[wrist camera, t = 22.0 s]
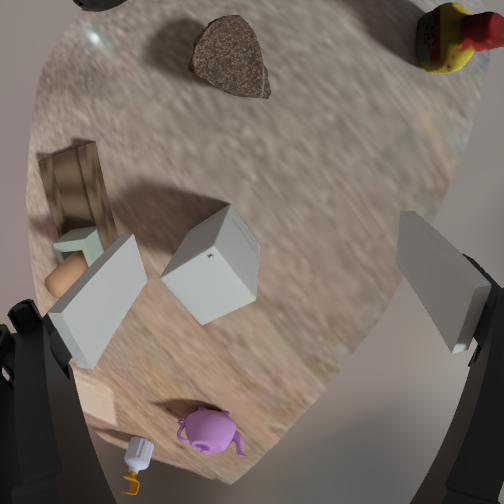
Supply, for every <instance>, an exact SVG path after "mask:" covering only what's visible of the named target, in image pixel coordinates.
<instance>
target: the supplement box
mask: <svg viewBox="0 0 504 504" xmlns="http://www.w3.org/2000/svg"><path fill="white" fill-rule="evenodd" d="M259 256H260V244H259V243H258V241H257V240H256V239H255V237H254V236H253V234H252V233H251V231H250V230H249V229H248V227H247V226H246V224H245V223H244V222H243V220H242V219H241V217H240V216H239V214H238V213H237V212H236V210H235V209H234V207H233V206H232V205H231V204H229V205H227V206H226V207H224V208H223V209H221V210H219V211H218V212H216V213H215V214H213V215H212V216H210V217H209V218H207V219H206V220H204V221H202V222H201V223H199V224H198V225H196V226H195V227H193V228H192V229H190V230H189V232H188V233H187V235H186V236H185V238H184V239H183V241H182V243H181V244H180V246H179V247H178V249H177V251H176V252H175V254H174V256H173V257H172V259H171V260H170V262H169V264H168V265H167V267H166V268H165V270H164V272H163V273H162V275H161V277H160V279H161V280H162V281H163V283H164V284H165V285H166V286H167V287H168V288H169V289H170V291H171V292H172V293H173V294H174V295H175V296H176V297H177V299H178V300H179V301H180V302H181V303H182V304H183V305H184V306H185V308H186V309H187V310H188V311H189V312H190V313H191V314H192V315H193V316H194V317H195V319H196V320H197V321H198V322H199V323H200V324H201V325H204V324H206V323H208V322H210V321H212V320H214V319H217V318H219V317H221V316H223V315H225V314H227V313H229V312H231V311H234V310H236V309H238V308H240V307H242V306H244V305H247V304H249V303H251V302H253V301H255V300H256V290H257V279H258V267H259Z"/></svg>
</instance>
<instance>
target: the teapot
mask: <svg viewBox="0 0 504 504" xmlns="http://www.w3.org/2000/svg"><path fill="white" fill-rule="evenodd" d="M198 409H199V410H197V411H195V412H193V413H191V414H189V415H188V416H187V417H186V419H185V418H179V419H178V424H180V425H181V427H180V428H179V430H178V432H177V437H178V439H179V440H180V441H182V442H186V443H188V442H190V444H191V445H192V447H193V448H195V449H196V450H198V451H200V452H201V453H203V454H207V455H209V454H211V453H219V452H222V451H223V450H224V449H225V448H226V447H227V446H228V445H229V444H230V443H231V442H232V441H234V442H235V443H236V451H237V454H238V455H239V456H241V457H243V458H247V459H248V457H246V456H245V455H244V453H243V451H242V436H241V434H240V433H239V432H238V431H237V427H236V424H235V423H234V422H233V420H232V419H231V418H230V417H229V416H228V415H229V412H228V411H225V410H223V411H220V412H218V411H214V410H207V408H206V407H204V406H199V407H198ZM180 421H183V423H181V422H180ZM184 427H185V431H186V435H187V437H188V439H184V438H182V437H181V436H180V434H181V431H182V430H183V428H184Z"/></svg>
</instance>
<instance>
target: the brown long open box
mask: <svg viewBox="0 0 504 504" xmlns="http://www.w3.org/2000/svg"><path fill="white" fill-rule="evenodd" d="M38 162H39V166H40V171H41V175H42V179H43V183H44V187H45V191H46V195H47V199H48V202H49V206H50V209H51V213H52V216H53V219H54V223H55V226H56V229H57V232H58V235H59V238H61V237H62V236H63V235H65V234H66V233H67V232H69V231H70V230H73V229H79V228H86V227H92V226H97V230H98V233H99V236H100V239H101V242H102V246H103V249H104V252H105V251H106V250H107V249H108V248H109V247H110V246H111V245H112V244H113V243H114V242H115V241H116V240H117V239H118V238H119V237H118V233H117V230H116V227H115V223H114V219H113V216H112V212H111V208H110V204H109V201H108V197H107V193H106V188H105V184H104V180H103V176H102V171H101V167H100V162H99V157H98V152H97V147H96V142H93V143H89V144H85V145H82V146H79V147H77V148H74V149H71V150H68V151H66V152H63V153H60V154H57V155H55V156H52V157H49V158H46V159H44V160H41V161H38Z"/></svg>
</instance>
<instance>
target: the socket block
mask: <svg viewBox="0 0 504 504" xmlns="http://www.w3.org/2000/svg"><path fill="white" fill-rule="evenodd" d="M53 246H54V249H55V251H56V254H57V257H58V259H59V262H60V264H61V263H62V262H63V261H65V260H66V259H67V258H68V257H69V256H70V255H71V254H72V253H73V252H75V251H77V250H83V253H84V256H85V259H86V262H87V264H88V267H90V266H91V265H92V264H93V263H94V262H95V261H96V260H97V259H98V258H99V257H100V256H101V255H102V254H103V253H104V249H103V246H102V242H101V239H100V236H99V233H98V230H97V226H92V227H86V228H79V229H73V230H70V231H69V232H67V233H66V234H65V235H63V236H62V237H61V238H59V239H58V240H57V241H55V242H54V243H53Z"/></svg>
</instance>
